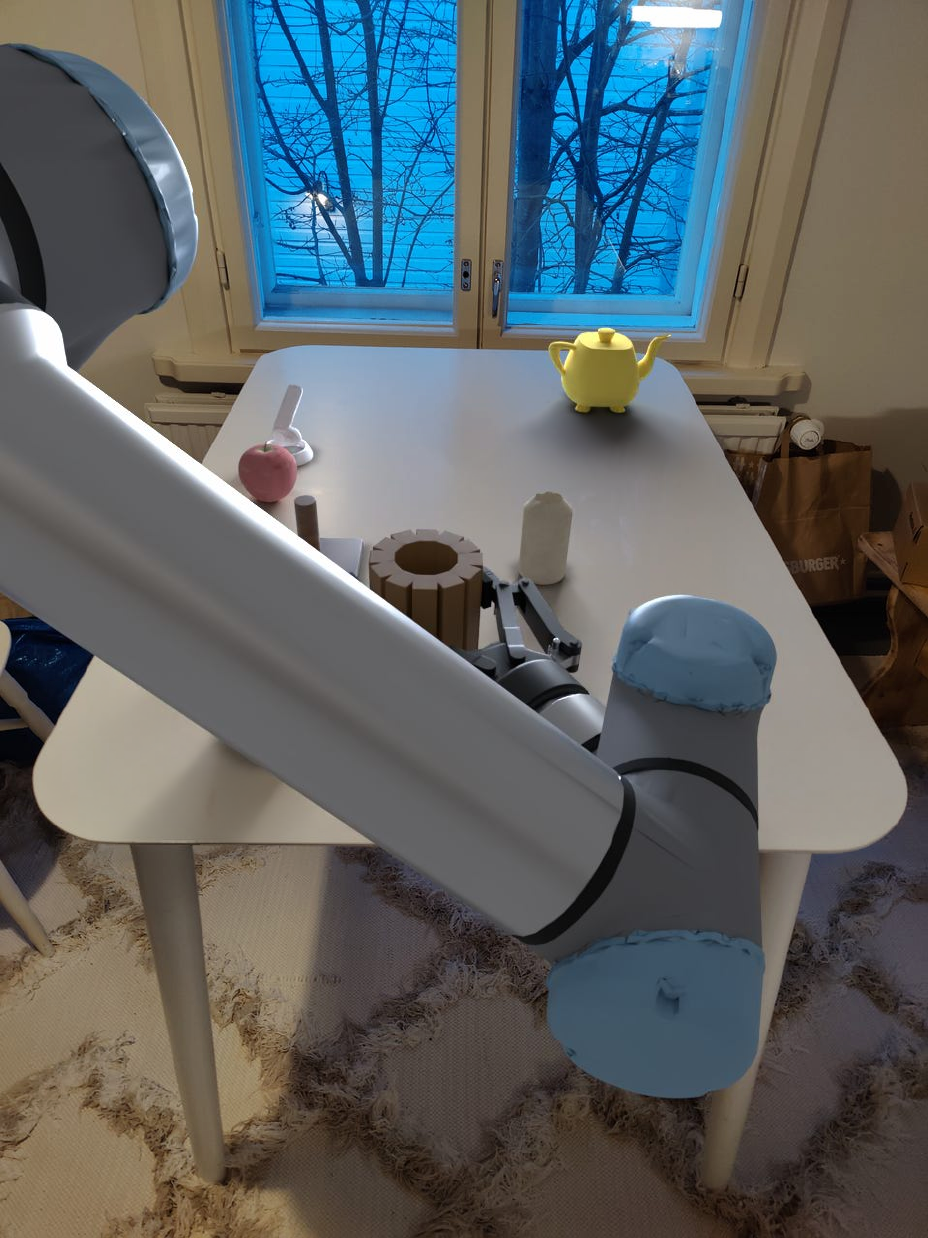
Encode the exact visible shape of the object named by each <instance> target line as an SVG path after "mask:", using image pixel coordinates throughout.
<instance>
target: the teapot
mask: <svg viewBox="0 0 928 1238" xmlns="http://www.w3.org/2000/svg"><path fill="white" fill-rule="evenodd" d="M671 336H672V334H661V335H658V336H656V337H654V338H653V339H652V340H651V341H650V343H649V344H648V347H647V351H646V353H645V355H644V356H643V358H642V359H641V360H639V361H638V357H637V354H636V350H635V347H634V344H633V342H632V341H631V339H630V338H628V337H627V336H626V335H624V334H621V333H618V332H616V330H615V329H613V328H610V327H601V328H598V329H597V331H587V332H581V333H579V335H578V336H577V337H576V339H575V341H574V343H573V342H566V341H553V342H551V343H550V344H549V346H548V353H549V358H550V360H551V361H552V363H553V366H555V368H556V370H557V371H558V372H559V374H560V375H561V377H560V378H561V379H560V380H561V386H562V388H563V390H564V392H565V394H566V396H567V397H568V398H569V399H570V400H571V401H572V402H573V403H575V404H576V406H575V408H574V410H575V411H577V412H579V413H588V412H590V411H591V408H592V407H596V408H597V407H598V408H610V409H609V410H610V411H612V412H613V413H617V414H618V413H620V414H621V413H625V412H626V406H629V405H630V404H631V402H632V401H633V400H634V399H635V398H636V397H637V395H638V392H639V388H640V382H642V381H644V380H645V379H646V378H647V377H648V376H649V375H650V374H651V372H652V370H653V367H654V364H655V360H656V356H657V352H658V351H659V348H660V346H661V345H662V344H663V342H664V341H666V340H668V339H669V338H671ZM562 350H569V352H568V354H567V356H566V358H565V361H564V365H563V362H562V360H561V355H560V352H561V351H562Z"/></svg>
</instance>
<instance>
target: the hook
mask: <svg viewBox="0 0 928 1238" xmlns="http://www.w3.org/2000/svg"><path fill="white" fill-rule="evenodd" d="M303 393H304V391H303V388H302V387H301V386H299V385H297V384H293V383H290V384H289V385H288V386H287V388H286V391H285V394H284V395H283V399H282V401H281V404H280V407H279V409H278V412H277V415H276V417H275V420H274V423H273V427H272V432H271V438H272V439H271V440H269V441H266V442H267V444H276V445H279V446H281V447H283V448H284V447H297V448H301V449H302V450H300V451H297V452H294V453H291V455H292V456H293V457H294V459H295V462H296V465H297V467H299V466H303V465H305V464H307V463H309V462H310V461H312V459H313V457H314V452H313V449H312V448H311V446H310V445H309V443H308V442H307V441H305V440H304V439H302V434H301V432H300V431H299V429H297V428H295V427H292V425H293V421H294V419H295V416H296V413H297V410H298V407H299V404H300V402H301V399H302V396H303Z"/></svg>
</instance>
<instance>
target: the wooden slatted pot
mask: <svg viewBox="0 0 928 1238" xmlns="http://www.w3.org/2000/svg"><path fill="white" fill-rule="evenodd" d="M483 556H484V555H483V552H481V548H479V546H477V545H476V544H475V543H474V542H472V540H471V539H469V538H468V539H465V536H464V535H461V534H457V533H454V532H452V531H448V530H443V531H442V532H441V533H440V530H439V529H432V528H429V529H428V528H427V529H426V528H417V529H416V531H415V532H414V531H413V530H412V529H407V530H403V531H399V532H395V533H391V534H390V537H388V536H384V537H383V538H382V539H381V540H379V542H377V543H376V544H374V545H373V546H372V549H371V550H370V552H369V558H368V578H369V580H368V583H369V589H370V590H371V591H373V592H374V593H375V594H377V595H378V596H379V597H381V598H382V599H384V600H385V601H386V602H388V603H389V604H390V605H392V606H393V607H394V608H396V609H397V610H398V611H400V612H401V613H402V614H404V615H405V616H407V617H408V618H409V619H411V620H412V621H413V622H415V623H416V624H417V625H419V626H420V627H421V628H423V629H424V630H426V631H427V632H428V633H430V634H431V635H432V636H434V637H435V638H436V639H438V640H439V641H440V642H442V643H443V644H444V645H446V646H447V647H449V646H451V645H452V646H455V647H458V648H460V649H462V650H465V651H467V652H469V651H471V650H477V649H479V642H480V623H481V608H482V607H481V592H482V575H483V566H484V560H483Z"/></svg>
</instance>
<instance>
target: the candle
mask: <svg viewBox="0 0 928 1238" xmlns="http://www.w3.org/2000/svg"><path fill="white" fill-rule="evenodd" d="M573 512H574V510H573V507H572V506H571V504H569V503H568V501H566V499H565V498H564V497H563V496H562V495H561V494H560V493H558V492H553V491H545V492H544V493H536V494H535V495H534V496H533V497H531V498H530V499H529V500H528V501H526V503H524V505H523V513H522V523H521V524H522V525H521V534H520V535H521V537H520V548H519V559H518V562H519V563H518V573H519V575H520V576H521V578H527V579H530V580H531V581H532V582H533V583H534V585H544V586H545V585H554V584H557V583H559V582H561V581H562V580H563V579H564V578H565V574H566V569H567V559H568V554H569V553H568V552H569V546H570V545H569V544H570V536H571V528H572V521H573Z"/></svg>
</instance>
